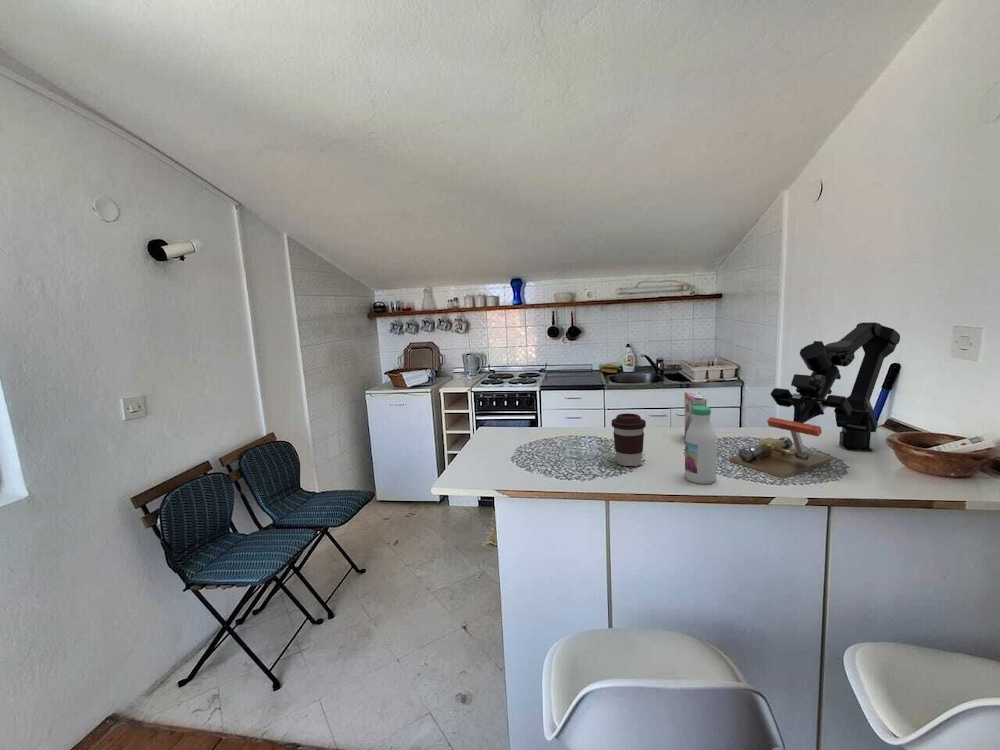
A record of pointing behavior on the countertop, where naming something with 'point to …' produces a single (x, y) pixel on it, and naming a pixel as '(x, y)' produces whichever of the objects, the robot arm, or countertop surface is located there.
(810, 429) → the valve lever
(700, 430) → the milk bottle
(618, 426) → the coffee cup
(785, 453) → the valve on board
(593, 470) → the countertop surface
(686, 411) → the candy bar box
